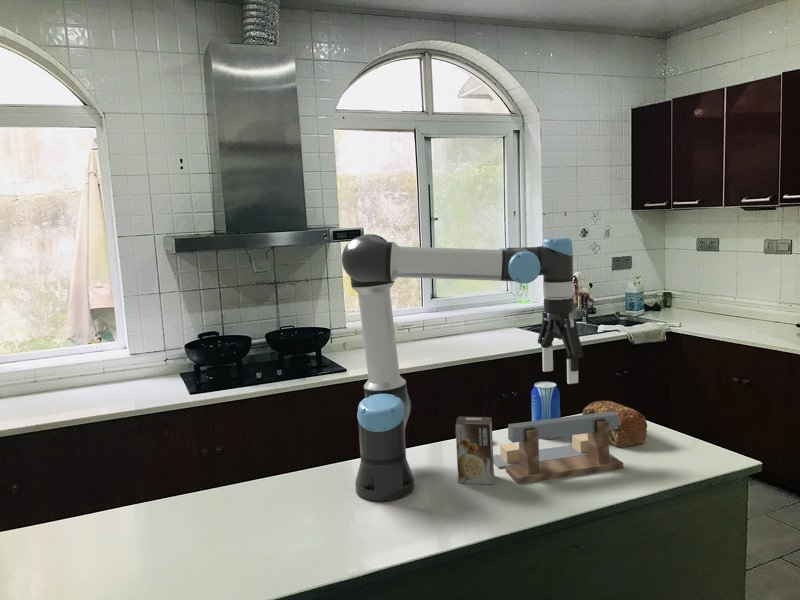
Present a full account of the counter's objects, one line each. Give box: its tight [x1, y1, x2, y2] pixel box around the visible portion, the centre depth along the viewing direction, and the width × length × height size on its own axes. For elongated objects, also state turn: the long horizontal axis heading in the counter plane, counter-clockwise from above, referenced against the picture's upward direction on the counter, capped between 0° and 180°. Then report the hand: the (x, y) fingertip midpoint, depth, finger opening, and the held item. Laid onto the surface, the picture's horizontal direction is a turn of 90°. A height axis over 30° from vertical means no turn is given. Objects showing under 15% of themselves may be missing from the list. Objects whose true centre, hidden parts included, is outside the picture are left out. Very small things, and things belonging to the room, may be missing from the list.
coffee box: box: [455, 416, 496, 485], centre depth 167 cm, size 9×6×16 cm
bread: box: [581, 400, 648, 448], centre depth 193 cm, size 19×11×10 cm, turn 16°
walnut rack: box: [505, 420, 624, 484], centre depth 170 cm, size 30×8×13 cm, turn 102°
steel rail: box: [507, 411, 618, 444], centre depth 169 cm, size 30×3×4 cm, turn 102°
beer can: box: [530, 381, 561, 440], centre depth 196 cm, size 8×8×16 cm
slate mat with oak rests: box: [493, 433, 588, 469], centre depth 181 cm, size 32×8×4 cm, turn 102°
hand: (559, 376), depth 170 cm, fingers open, 13 cm apart
